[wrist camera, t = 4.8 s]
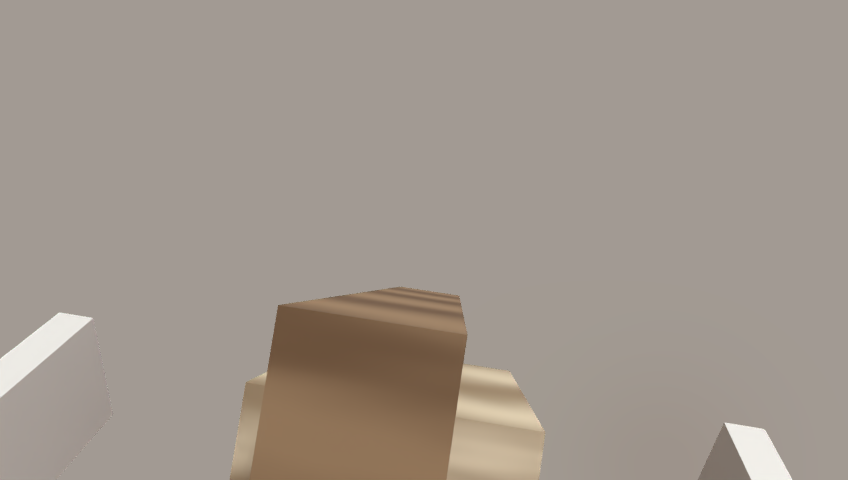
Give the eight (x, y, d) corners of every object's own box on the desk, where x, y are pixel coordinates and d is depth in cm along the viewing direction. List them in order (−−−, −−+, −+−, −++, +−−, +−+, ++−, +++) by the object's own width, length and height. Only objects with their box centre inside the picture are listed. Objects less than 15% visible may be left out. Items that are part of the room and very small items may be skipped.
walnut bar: (438, 533, 10) (466, 335, 10) (246, 498, 10) (278, 305, 10) (450, 355, 33) (459, 295, 33) (391, 345, 33) (400, 286, 33)
